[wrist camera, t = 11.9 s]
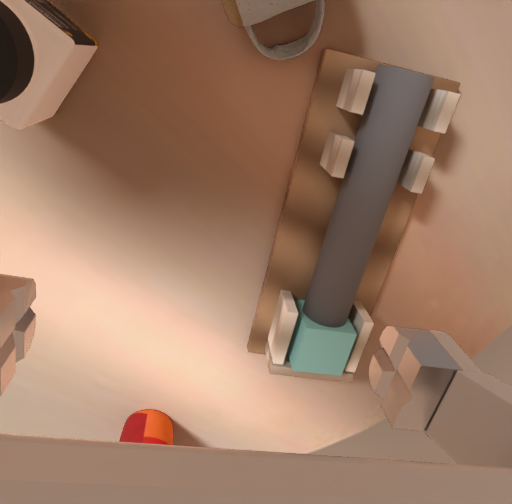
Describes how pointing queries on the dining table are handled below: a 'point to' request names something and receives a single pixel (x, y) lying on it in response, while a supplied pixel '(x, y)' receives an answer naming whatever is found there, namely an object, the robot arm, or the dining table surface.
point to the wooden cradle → (323, 200)
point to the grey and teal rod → (357, 220)
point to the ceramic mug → (264, 7)
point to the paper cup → (148, 428)
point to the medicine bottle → (38, 60)
